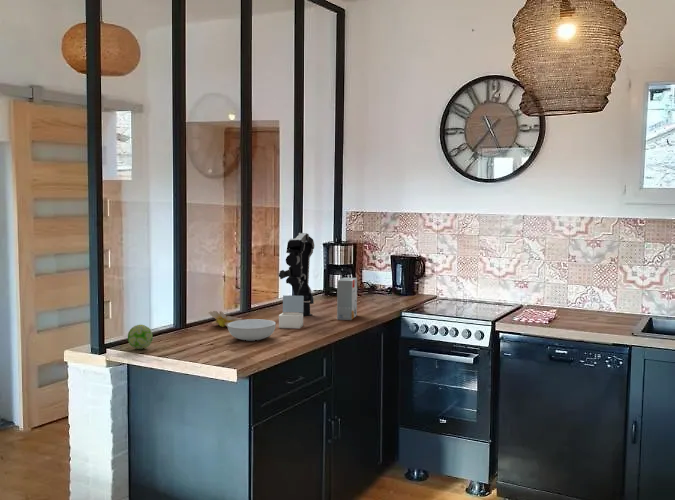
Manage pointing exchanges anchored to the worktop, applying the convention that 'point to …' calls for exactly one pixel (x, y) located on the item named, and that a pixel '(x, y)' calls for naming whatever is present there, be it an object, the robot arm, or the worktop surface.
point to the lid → (293, 303)
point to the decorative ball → (140, 336)
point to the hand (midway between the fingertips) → (296, 295)
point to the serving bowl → (251, 329)
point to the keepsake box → (291, 320)
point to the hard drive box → (346, 298)
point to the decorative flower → (222, 318)
